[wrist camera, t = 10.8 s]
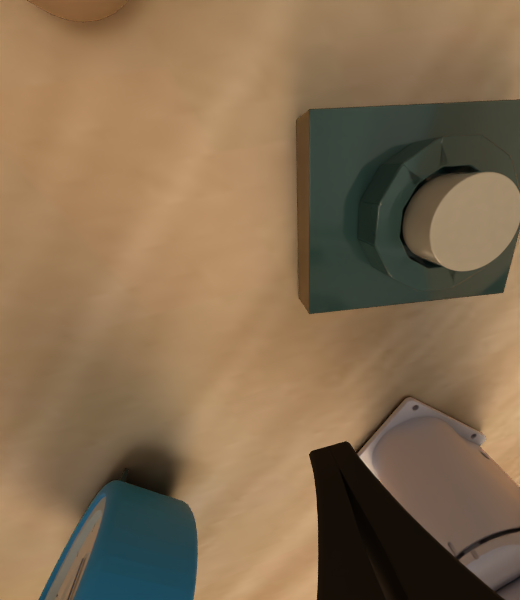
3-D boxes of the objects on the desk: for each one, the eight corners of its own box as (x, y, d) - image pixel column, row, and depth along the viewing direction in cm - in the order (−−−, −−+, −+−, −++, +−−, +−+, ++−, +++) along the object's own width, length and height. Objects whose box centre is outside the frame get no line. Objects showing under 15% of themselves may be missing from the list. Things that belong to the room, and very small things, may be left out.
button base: (508, 108, 17) (604, 85, 12) (471, 280, 20) (535, 305, 16) (296, 119, 16) (323, 97, 11) (298, 298, 19) (320, 330, 15)
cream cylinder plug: (490, 170, 14) (534, 168, 12) (472, 256, 15) (508, 267, 13) (407, 175, 13) (438, 175, 11) (397, 263, 15) (423, 275, 13)
